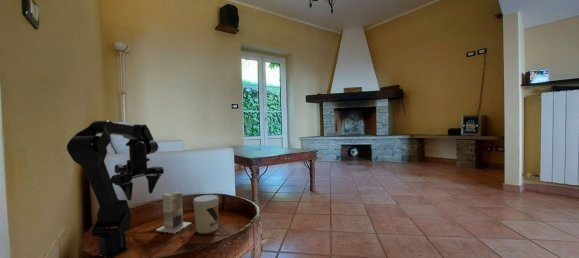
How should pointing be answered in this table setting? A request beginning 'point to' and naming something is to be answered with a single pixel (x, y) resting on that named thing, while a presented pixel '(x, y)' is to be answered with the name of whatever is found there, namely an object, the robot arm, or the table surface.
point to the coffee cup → (206, 213)
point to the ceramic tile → (163, 229)
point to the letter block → (172, 210)
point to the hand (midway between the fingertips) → (140, 196)
